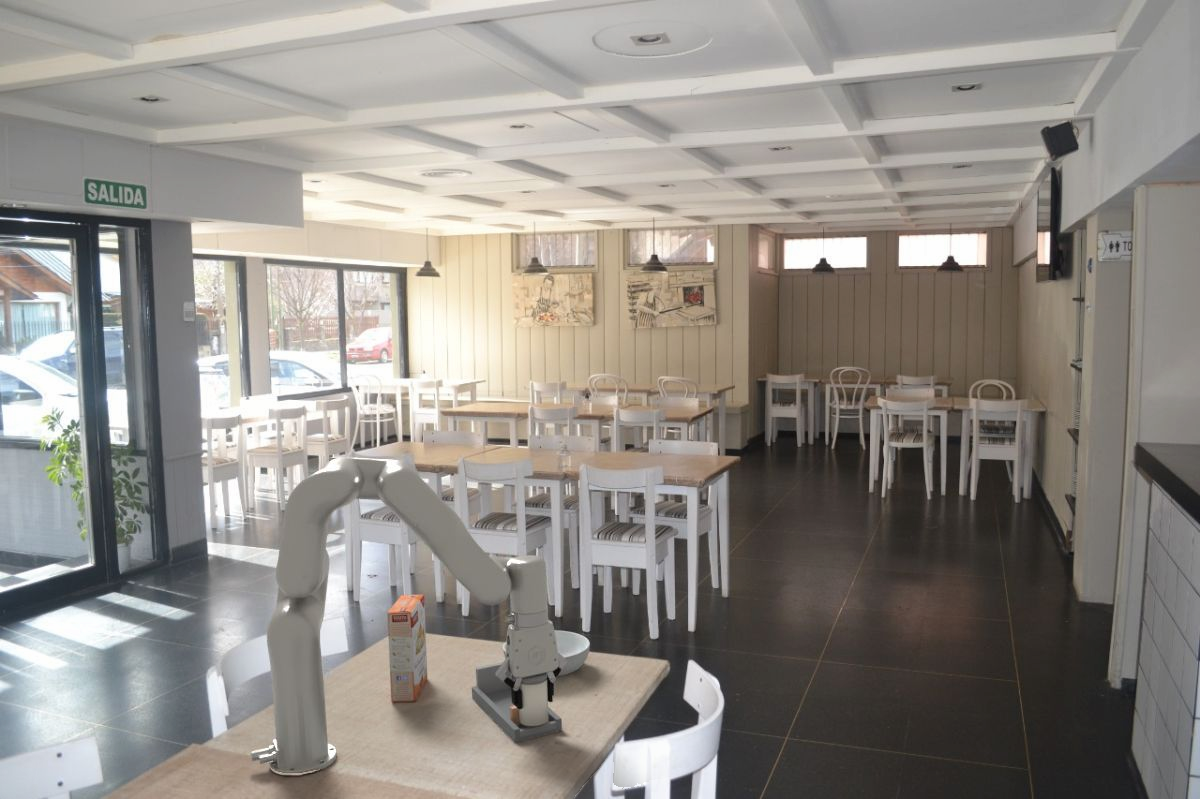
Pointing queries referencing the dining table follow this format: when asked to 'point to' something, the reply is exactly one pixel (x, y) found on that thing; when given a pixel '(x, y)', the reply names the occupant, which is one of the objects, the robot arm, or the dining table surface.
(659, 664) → the dining table surface
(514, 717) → the pusher
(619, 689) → the dining table surface
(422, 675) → the cracker box
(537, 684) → the jar
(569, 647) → the serving bowl
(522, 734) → the lane
